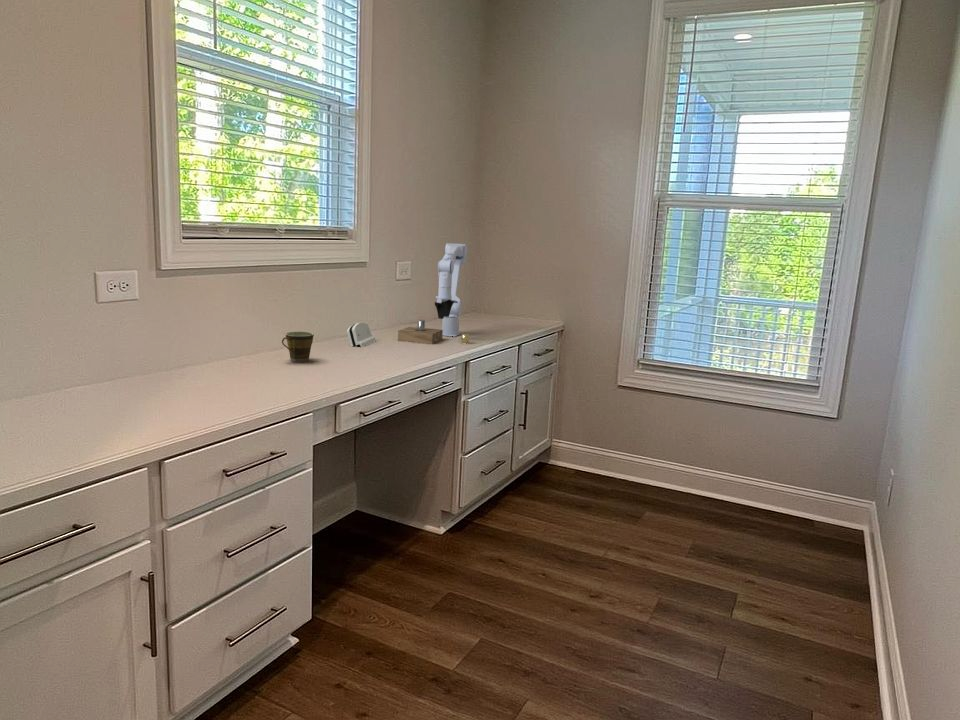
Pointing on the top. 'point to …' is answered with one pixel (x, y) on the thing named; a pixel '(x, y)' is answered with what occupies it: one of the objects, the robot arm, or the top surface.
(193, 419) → the top surface
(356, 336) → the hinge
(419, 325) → the tall pin
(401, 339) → the hole block
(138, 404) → the top surface
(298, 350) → the ceramic cup
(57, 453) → the top surface
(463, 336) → the short pin
